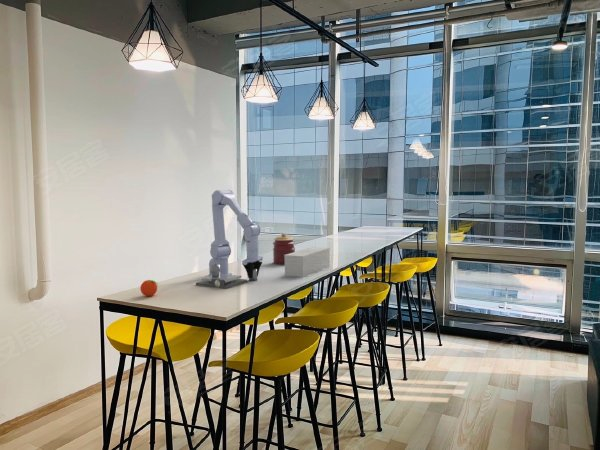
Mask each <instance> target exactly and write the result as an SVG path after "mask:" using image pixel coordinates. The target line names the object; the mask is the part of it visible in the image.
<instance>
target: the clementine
mask: <svg viewBox="0 0 600 450" xmlns="http://www.w3.org/2000/svg"><path fill="white" fill-rule="evenodd" d="M158 286H159V285H158V282H156V281H155V280H152V279H148V280H146V279H145V280H144V281H143V282H142V283H141V285H140V289H139V290H140V292H141V294H142V295H143V296H145V297H152V296H154V295H155V294H156V293H157V292H158Z"/></svg>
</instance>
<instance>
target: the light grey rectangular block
mask: <svg viewBox="0 0 600 450" xmlns="http://www.w3.org/2000/svg"><path fill="white" fill-rule="evenodd" d="M330 254H331V253H330V247H323V246H322V247H317V246H311V247H308V248H303V249H301V250H297V251H295V252H293V253H290V254H286V255H284V260H285V264H284V276H287V277H300V278H304V277H308V276H309V275H312V274H315V273H317V272H320V271H323V270H324V269H327V268H330V265H331V264H330V261H331V260H330V256H331V255H330Z"/></svg>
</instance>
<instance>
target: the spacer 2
mask: <svg viewBox="0 0 600 450" xmlns="http://www.w3.org/2000/svg"><path fill="white" fill-rule="evenodd" d="M248 281H249V282H257V281H258V277H257V269H256V268H254V269H253V278H248Z"/></svg>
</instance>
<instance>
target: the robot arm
mask: <svg viewBox="0 0 600 450" xmlns="http://www.w3.org/2000/svg"><path fill="white" fill-rule="evenodd" d="M211 201H212V202H211V203H212V204H211V208H212V209H211V210H212V222H213V225H212V226H213V234H214V240H213V241H212V242H211V244H210V251H209V254H210V257H211V259H210V260H209V263H208V266H209V267H208V269H209V271H208V272H209V274H208V276H211V275H212V267H211V265H213V264H220V274H228V275H233V273H231V272H229V257H230V256H231V253H232V249H231V246H230V241H228V240H227V239H226V230H225V229H226V227H225V218H224V208H225V207H226V206H228V207H229V208H230V210H232V212H233V213H234V214H235V216H236V221H237V222H238V223H239V225H240V226H241V228H242V229H243V231H242V233H243V235H244V239H245V241H246V244H245V245H246V246H245V247H246V258H245V259H243V260H241V265H242V266H243V268H244V269H245V271H246V274H247V278H248V279H249V278H253V269H254V268H256V269H257V278H258V277H259V273H260V269H261V266H262V265H263V262H262V261H263V256H259V235H260V233H261V228H260V226H259V225H258V223H254V221H252V219H251V217H250V215H249V213H247V212H244V211H243V210H242V207H241V206H240V204H239V203H238V202H237V199H236V195H235V193H234V192H233V190H231V189H226V190H225V189H223V190H221V189H218V190H217V189H216V190H215V191H214V192H213V193H212V194H211Z"/></svg>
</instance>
